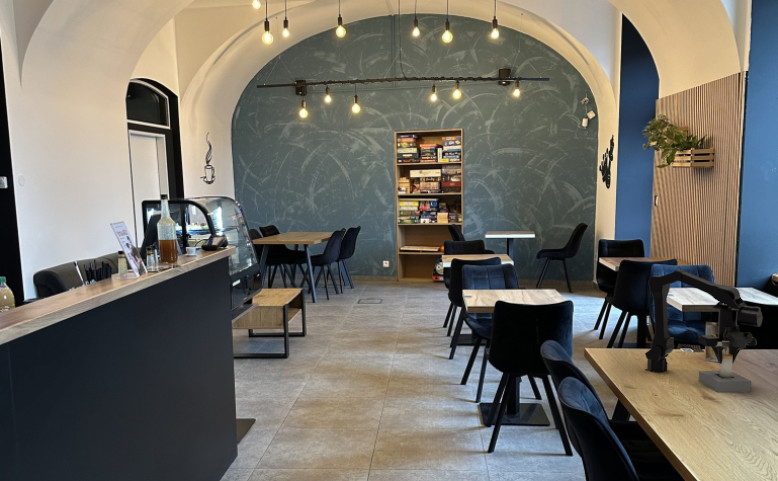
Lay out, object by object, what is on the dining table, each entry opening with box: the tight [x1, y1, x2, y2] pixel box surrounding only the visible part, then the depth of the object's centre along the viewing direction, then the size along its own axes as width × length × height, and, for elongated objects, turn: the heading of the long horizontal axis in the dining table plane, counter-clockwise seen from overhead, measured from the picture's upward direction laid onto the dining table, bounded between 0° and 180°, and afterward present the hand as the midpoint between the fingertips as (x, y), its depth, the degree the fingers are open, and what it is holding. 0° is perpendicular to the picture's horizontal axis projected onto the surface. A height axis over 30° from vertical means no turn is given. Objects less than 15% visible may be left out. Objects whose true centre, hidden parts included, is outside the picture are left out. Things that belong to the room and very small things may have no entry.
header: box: [698, 370, 752, 394], centre depth 207 cm, size 12×12×5 cm
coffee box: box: [704, 321, 729, 363], centre depth 241 cm, size 9×6×16 cm
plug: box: [718, 353, 733, 378], centre depth 206 cm, size 4×4×8 cm
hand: (725, 363), depth 206 cm, fingers closed on plug, 4 cm apart
